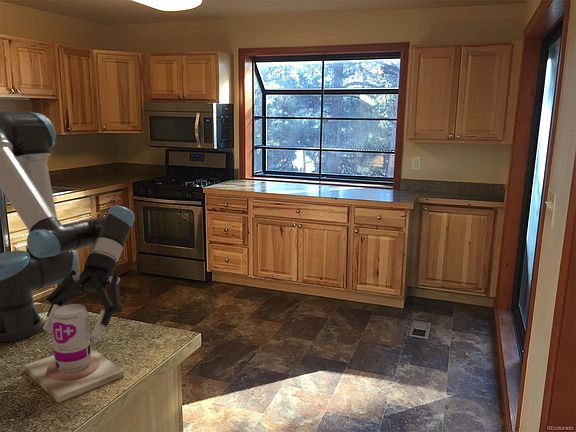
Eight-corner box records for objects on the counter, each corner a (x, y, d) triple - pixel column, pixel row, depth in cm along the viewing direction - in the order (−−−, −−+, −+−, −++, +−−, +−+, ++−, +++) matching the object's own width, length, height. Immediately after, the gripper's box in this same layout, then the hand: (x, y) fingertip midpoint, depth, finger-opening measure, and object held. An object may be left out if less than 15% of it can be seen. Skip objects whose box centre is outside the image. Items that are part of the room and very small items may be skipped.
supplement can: (78, 375, 116) (74, 317, 113) (48, 371, 117) (43, 314, 114) (97, 359, 123) (94, 304, 120) (69, 355, 125) (65, 301, 122)
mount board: (24, 370, 121) (24, 362, 121) (86, 349, 133) (86, 342, 133) (58, 402, 108) (57, 394, 108) (123, 376, 120) (123, 368, 119)
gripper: (150, 269, 130) (122, 345, 118) (70, 260, 135) (36, 333, 124) (139, 255, 123) (109, 335, 112) (55, 247, 129) (18, 322, 118)
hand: (70, 334), depth 118 cm, fingers open, 13 cm apart
